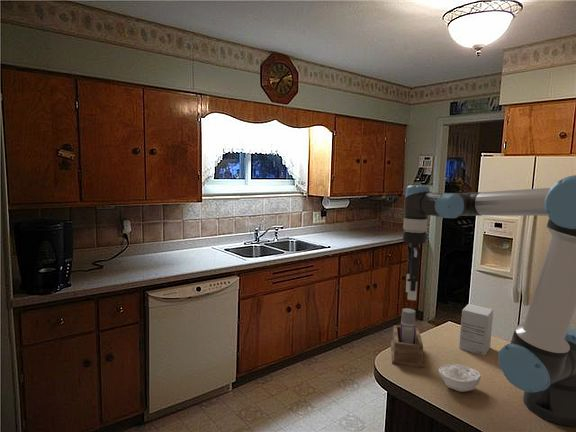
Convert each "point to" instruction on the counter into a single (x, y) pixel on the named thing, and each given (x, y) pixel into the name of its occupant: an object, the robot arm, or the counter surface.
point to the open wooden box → (407, 349)
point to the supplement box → (476, 329)
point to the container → (407, 326)
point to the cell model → (459, 377)
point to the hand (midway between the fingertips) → (410, 295)
